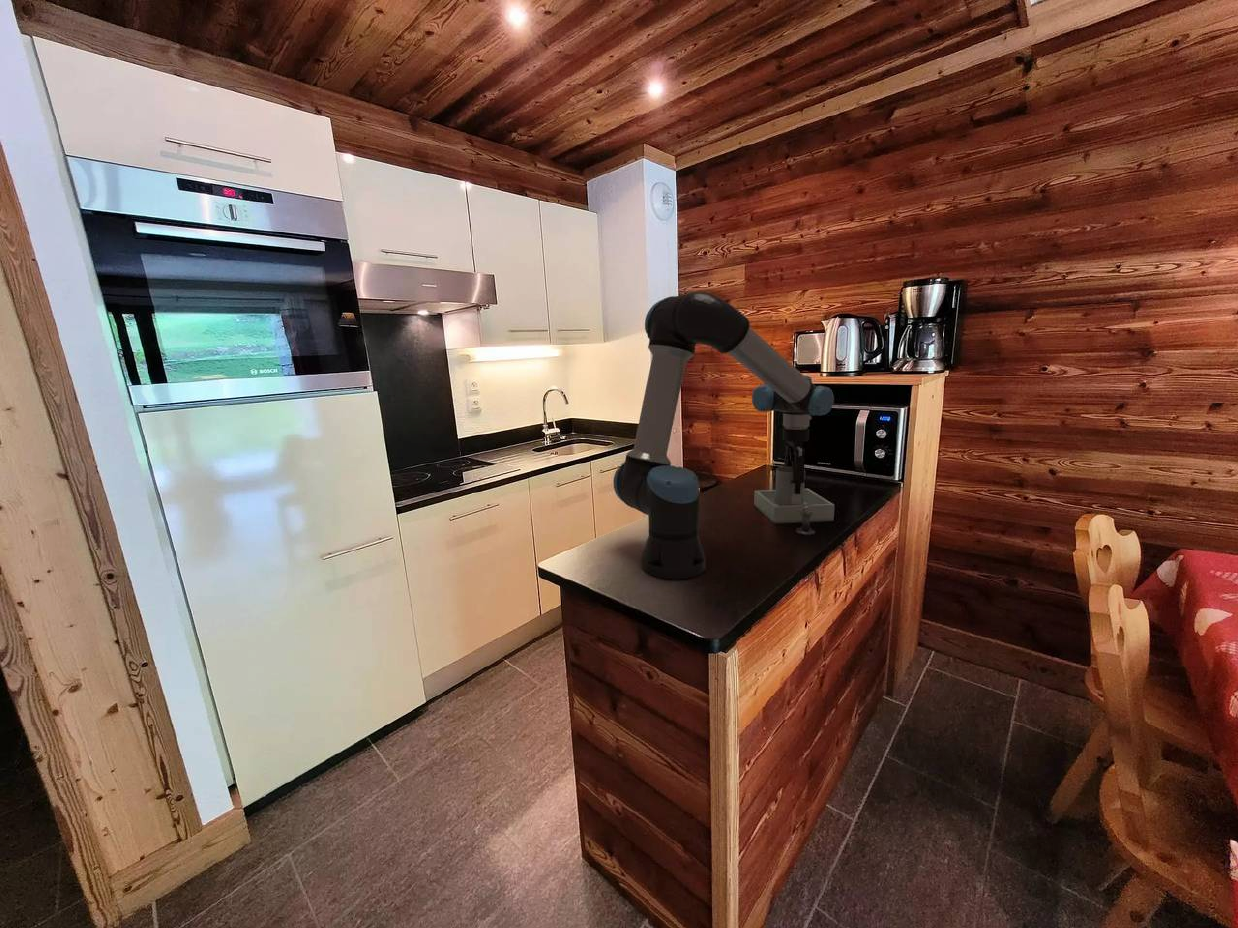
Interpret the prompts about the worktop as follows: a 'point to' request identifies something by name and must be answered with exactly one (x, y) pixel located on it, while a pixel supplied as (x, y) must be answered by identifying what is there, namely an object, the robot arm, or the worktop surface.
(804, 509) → the stud post
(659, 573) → the robot arm
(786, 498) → the mug
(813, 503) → the bin
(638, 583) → the worktop surface
